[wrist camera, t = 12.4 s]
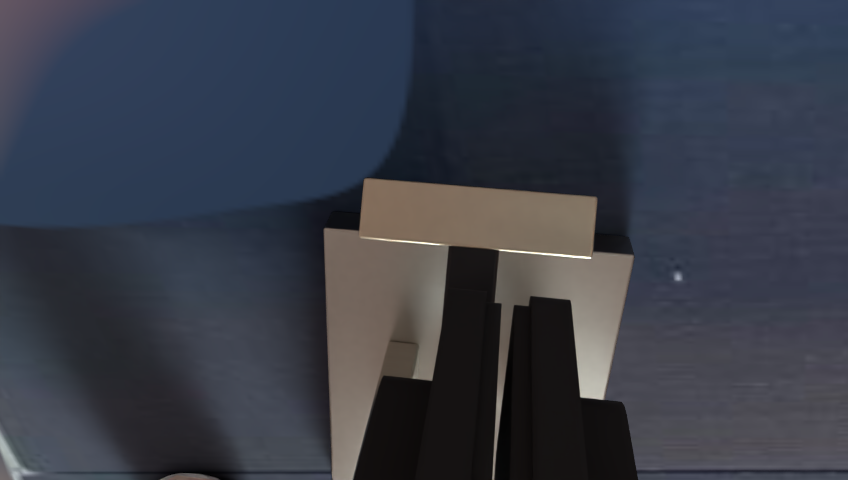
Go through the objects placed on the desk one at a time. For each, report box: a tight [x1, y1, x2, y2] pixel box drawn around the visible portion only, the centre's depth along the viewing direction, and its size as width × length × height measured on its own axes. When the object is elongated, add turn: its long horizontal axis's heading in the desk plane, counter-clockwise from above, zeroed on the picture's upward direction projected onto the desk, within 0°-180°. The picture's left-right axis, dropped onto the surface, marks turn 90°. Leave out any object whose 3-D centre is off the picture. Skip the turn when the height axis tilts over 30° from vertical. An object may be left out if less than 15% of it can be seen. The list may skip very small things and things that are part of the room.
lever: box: [359, 177, 598, 327], centre depth 16 cm, size 12×5×2 cm, turn 178°
